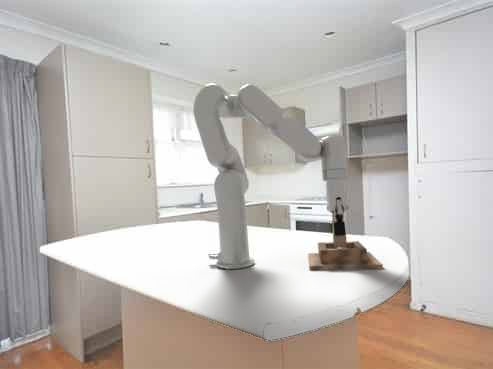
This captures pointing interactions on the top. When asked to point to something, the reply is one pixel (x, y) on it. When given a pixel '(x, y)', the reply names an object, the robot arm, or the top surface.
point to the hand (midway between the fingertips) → (339, 233)
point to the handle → (338, 240)
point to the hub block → (342, 257)
